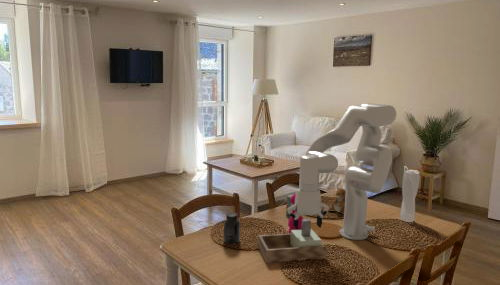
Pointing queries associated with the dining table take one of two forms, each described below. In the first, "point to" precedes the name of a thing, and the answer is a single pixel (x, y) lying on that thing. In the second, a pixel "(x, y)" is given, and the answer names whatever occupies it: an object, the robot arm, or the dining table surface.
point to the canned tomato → (288, 204)
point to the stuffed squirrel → (339, 201)
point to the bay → (287, 249)
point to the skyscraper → (409, 195)
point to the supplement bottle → (232, 228)
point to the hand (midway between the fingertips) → (307, 227)
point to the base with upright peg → (304, 236)
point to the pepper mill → (290, 222)
